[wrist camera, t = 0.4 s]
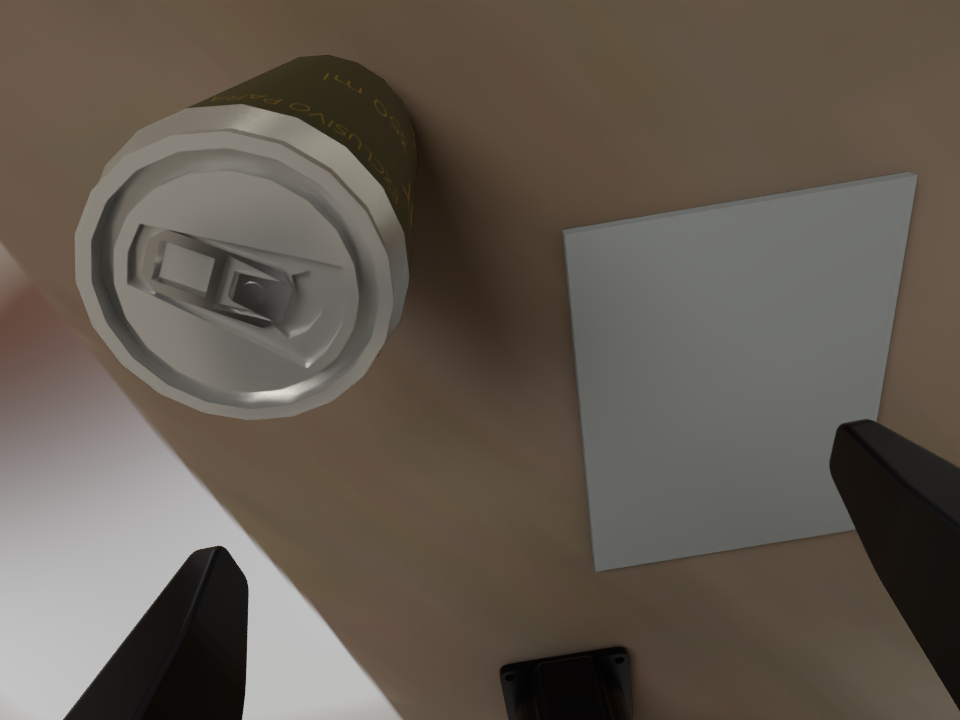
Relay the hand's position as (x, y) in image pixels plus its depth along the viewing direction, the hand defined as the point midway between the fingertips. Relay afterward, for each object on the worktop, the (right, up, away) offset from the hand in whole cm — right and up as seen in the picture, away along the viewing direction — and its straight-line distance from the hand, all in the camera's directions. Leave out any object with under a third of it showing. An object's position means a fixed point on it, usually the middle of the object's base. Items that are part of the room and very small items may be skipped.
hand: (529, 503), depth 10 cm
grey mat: (+9, +1, +17) cm, 19 cm away
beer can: (-5, +9, +12) cm, 16 cm away
